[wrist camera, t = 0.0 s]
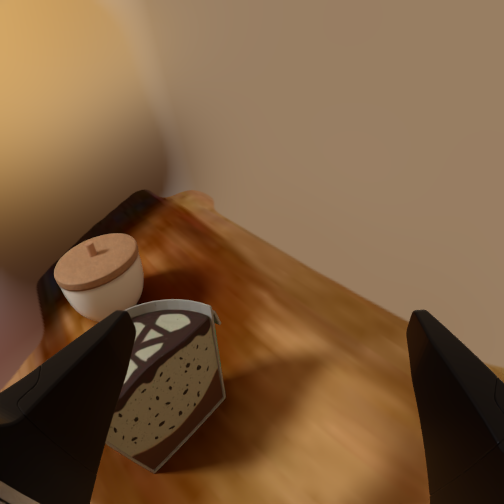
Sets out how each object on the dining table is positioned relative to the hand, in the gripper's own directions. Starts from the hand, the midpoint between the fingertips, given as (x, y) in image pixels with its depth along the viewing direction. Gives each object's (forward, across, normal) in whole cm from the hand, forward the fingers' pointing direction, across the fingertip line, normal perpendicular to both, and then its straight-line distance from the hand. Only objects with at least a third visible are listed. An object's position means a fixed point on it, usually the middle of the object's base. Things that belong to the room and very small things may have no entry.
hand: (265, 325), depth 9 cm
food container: (+5, +10, +17) cm, 20 cm away
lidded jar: (+18, +22, +17) cm, 33 cm away
